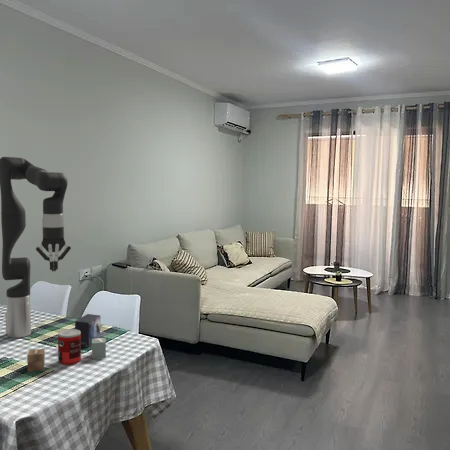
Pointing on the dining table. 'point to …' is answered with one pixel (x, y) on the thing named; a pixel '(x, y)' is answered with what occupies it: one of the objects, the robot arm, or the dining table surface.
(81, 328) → the small box
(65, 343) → the canned food
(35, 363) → the walnut digit block
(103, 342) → the slate digit block
